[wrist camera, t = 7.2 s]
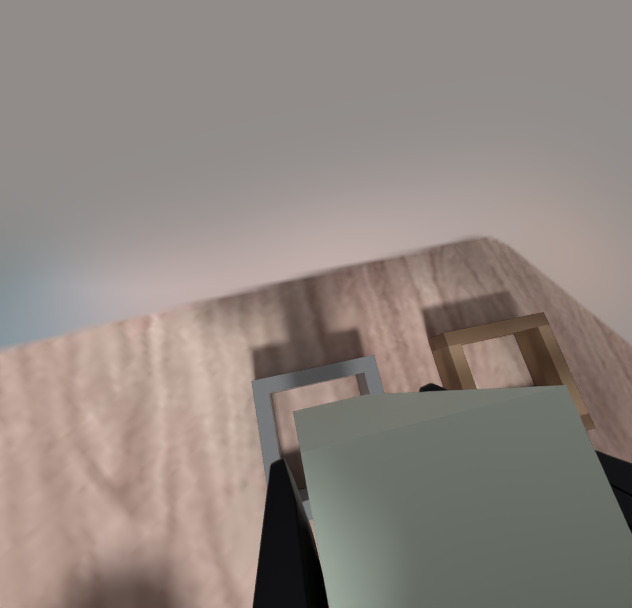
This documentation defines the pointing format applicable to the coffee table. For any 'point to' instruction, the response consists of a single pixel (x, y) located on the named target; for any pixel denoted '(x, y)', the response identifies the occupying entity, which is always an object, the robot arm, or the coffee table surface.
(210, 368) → the coffee table surface
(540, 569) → the peg
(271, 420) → the socket
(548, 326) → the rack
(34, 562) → the coffee table surface
